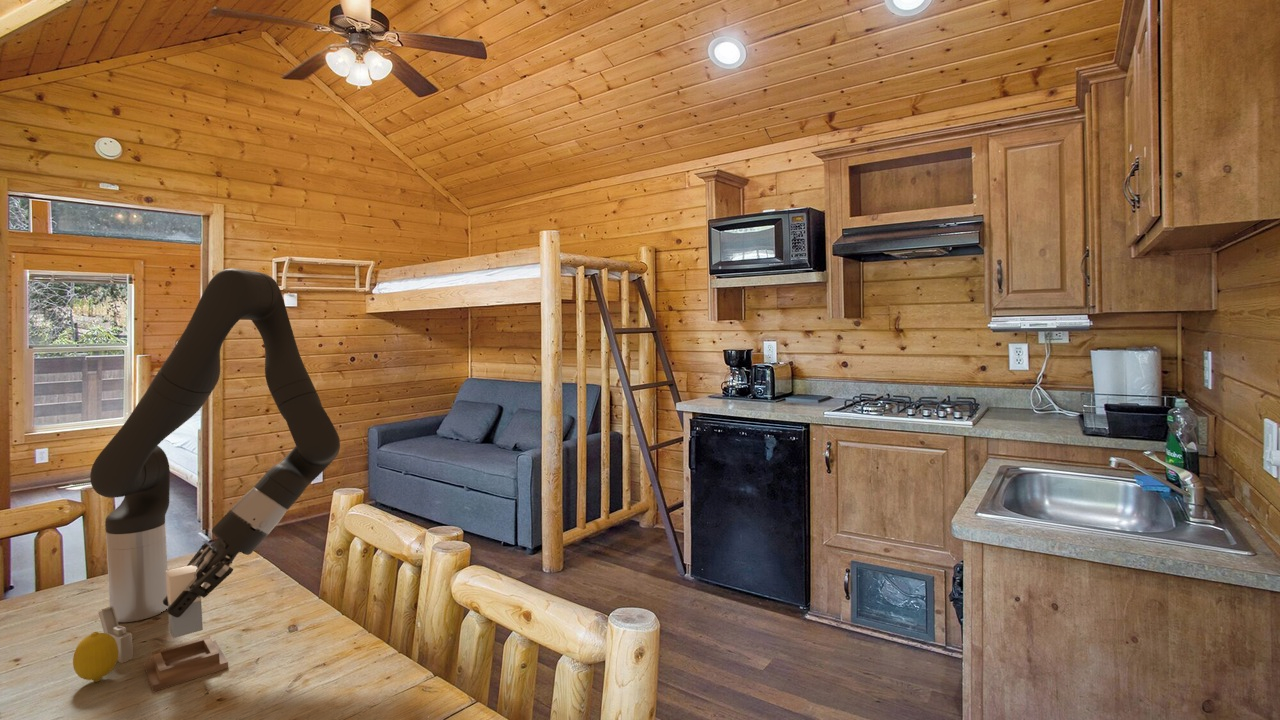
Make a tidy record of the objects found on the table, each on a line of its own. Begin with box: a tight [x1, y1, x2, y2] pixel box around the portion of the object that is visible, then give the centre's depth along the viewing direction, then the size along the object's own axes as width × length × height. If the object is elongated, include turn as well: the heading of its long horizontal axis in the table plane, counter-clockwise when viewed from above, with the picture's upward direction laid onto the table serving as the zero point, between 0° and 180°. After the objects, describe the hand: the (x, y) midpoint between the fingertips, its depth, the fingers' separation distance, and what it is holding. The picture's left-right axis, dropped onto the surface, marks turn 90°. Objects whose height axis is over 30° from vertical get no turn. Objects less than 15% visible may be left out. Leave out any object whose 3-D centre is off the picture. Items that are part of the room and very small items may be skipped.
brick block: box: [166, 565, 204, 639], centre depth 106 cm, size 4×4×10 cm
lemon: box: [72, 631, 119, 683], centre depth 102 cm, size 6×6×8 cm
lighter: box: [98, 606, 134, 664], centre depth 110 cm, size 7×2×8 cm, turn 63°
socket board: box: [143, 636, 229, 693], centre depth 106 cm, size 10×10×2 cm
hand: (170, 609), depth 105 cm, fingers closed on brick block, 4 cm apart
